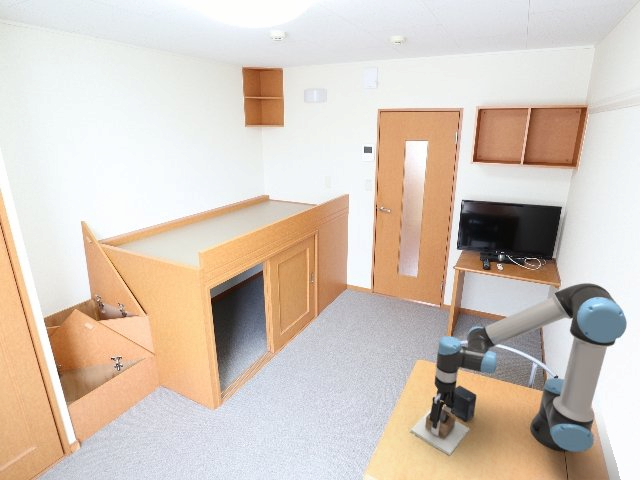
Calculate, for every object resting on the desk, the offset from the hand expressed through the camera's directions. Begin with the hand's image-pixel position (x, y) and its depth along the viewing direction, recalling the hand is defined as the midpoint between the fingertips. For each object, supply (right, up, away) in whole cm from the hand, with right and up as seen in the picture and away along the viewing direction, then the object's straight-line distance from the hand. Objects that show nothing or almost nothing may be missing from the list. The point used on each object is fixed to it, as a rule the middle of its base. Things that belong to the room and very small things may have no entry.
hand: (440, 426), depth 148 cm
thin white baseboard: (0, -2, +1) cm, 2 cm away
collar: (0, 0, 0) cm, 0 cm away
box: (+12, +1, +10) cm, 15 cm away
